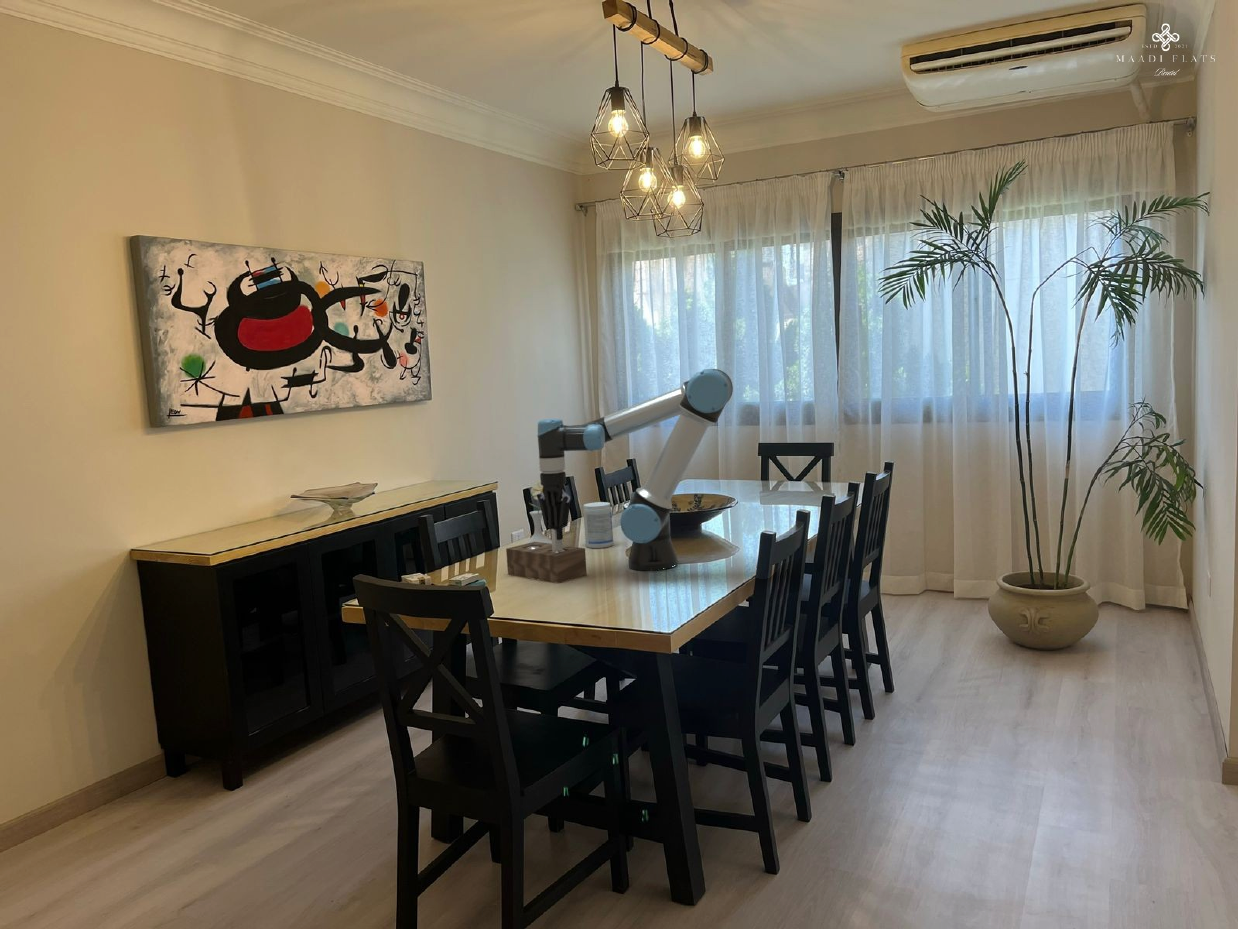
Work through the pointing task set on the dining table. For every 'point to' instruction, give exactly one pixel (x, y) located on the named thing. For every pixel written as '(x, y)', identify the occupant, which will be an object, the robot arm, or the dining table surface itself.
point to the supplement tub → (598, 525)
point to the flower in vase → (537, 517)
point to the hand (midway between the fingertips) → (557, 550)
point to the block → (546, 562)
